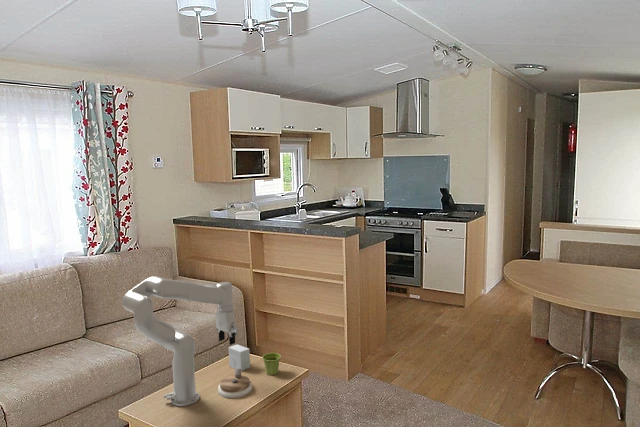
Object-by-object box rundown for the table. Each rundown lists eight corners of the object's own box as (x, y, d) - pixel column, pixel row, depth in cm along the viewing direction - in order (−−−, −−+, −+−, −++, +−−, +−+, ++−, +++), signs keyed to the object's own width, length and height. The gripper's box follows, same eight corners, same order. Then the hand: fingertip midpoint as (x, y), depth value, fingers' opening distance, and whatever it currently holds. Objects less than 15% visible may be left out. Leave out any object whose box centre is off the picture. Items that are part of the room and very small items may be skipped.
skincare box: (250, 367, 247) (250, 348, 246) (241, 371, 242) (240, 352, 241) (238, 362, 254) (237, 343, 252) (228, 366, 249) (227, 347, 248)
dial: (244, 393, 215) (244, 382, 214) (215, 391, 217) (215, 380, 216) (253, 378, 228) (253, 368, 228) (226, 377, 231) (225, 367, 230)
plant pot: (285, 371, 241) (284, 355, 240) (273, 378, 233) (272, 362, 232) (271, 367, 246) (270, 351, 245) (259, 374, 238) (258, 357, 237)
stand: (221, 400, 213) (220, 396, 212) (215, 385, 228) (215, 381, 227) (255, 393, 218) (255, 389, 218) (248, 379, 233) (247, 374, 233)
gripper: (208, 306, 231) (209, 340, 233) (231, 312, 220) (232, 348, 222) (220, 302, 237) (221, 335, 239) (243, 308, 226) (244, 343, 228)
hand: (227, 341), depth 231 cm, fingers open, 7 cm apart
